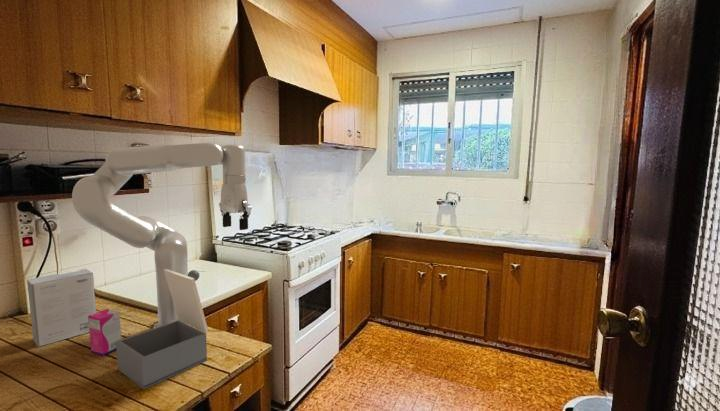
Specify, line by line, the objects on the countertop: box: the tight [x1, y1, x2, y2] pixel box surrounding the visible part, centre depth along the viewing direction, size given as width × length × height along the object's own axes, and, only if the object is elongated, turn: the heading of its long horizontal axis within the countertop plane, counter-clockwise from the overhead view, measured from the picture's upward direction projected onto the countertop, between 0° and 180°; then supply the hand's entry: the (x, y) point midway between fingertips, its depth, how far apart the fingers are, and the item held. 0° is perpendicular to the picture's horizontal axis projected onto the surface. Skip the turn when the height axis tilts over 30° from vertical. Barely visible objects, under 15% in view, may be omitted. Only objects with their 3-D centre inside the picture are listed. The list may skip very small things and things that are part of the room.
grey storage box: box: [116, 320, 208, 390], centre depth 100 cm, size 15×17×8 cm
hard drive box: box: [26, 268, 97, 348], centre depth 117 cm, size 16×8×20 cm, turn 141°
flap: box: [164, 269, 209, 334], centre depth 107 cm, size 15×17×6 cm
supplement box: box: [88, 308, 122, 357], centre depth 108 cm, size 6×6×12 cm
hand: (235, 228), depth 130 cm, fingers open, 9 cm apart
